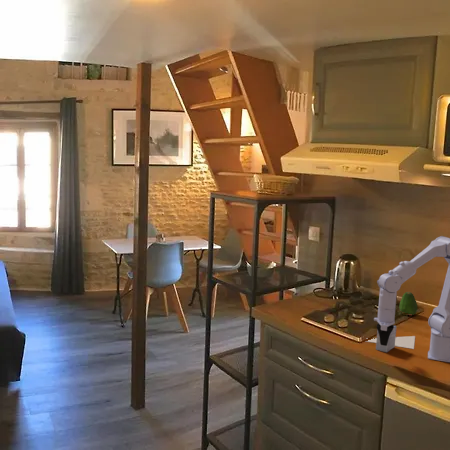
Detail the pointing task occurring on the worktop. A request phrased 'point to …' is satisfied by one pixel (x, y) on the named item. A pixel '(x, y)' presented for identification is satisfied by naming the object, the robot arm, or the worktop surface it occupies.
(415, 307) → the avocado
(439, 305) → the robot arm
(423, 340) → the worktop surface
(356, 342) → the worktop surface
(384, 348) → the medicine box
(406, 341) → the card
